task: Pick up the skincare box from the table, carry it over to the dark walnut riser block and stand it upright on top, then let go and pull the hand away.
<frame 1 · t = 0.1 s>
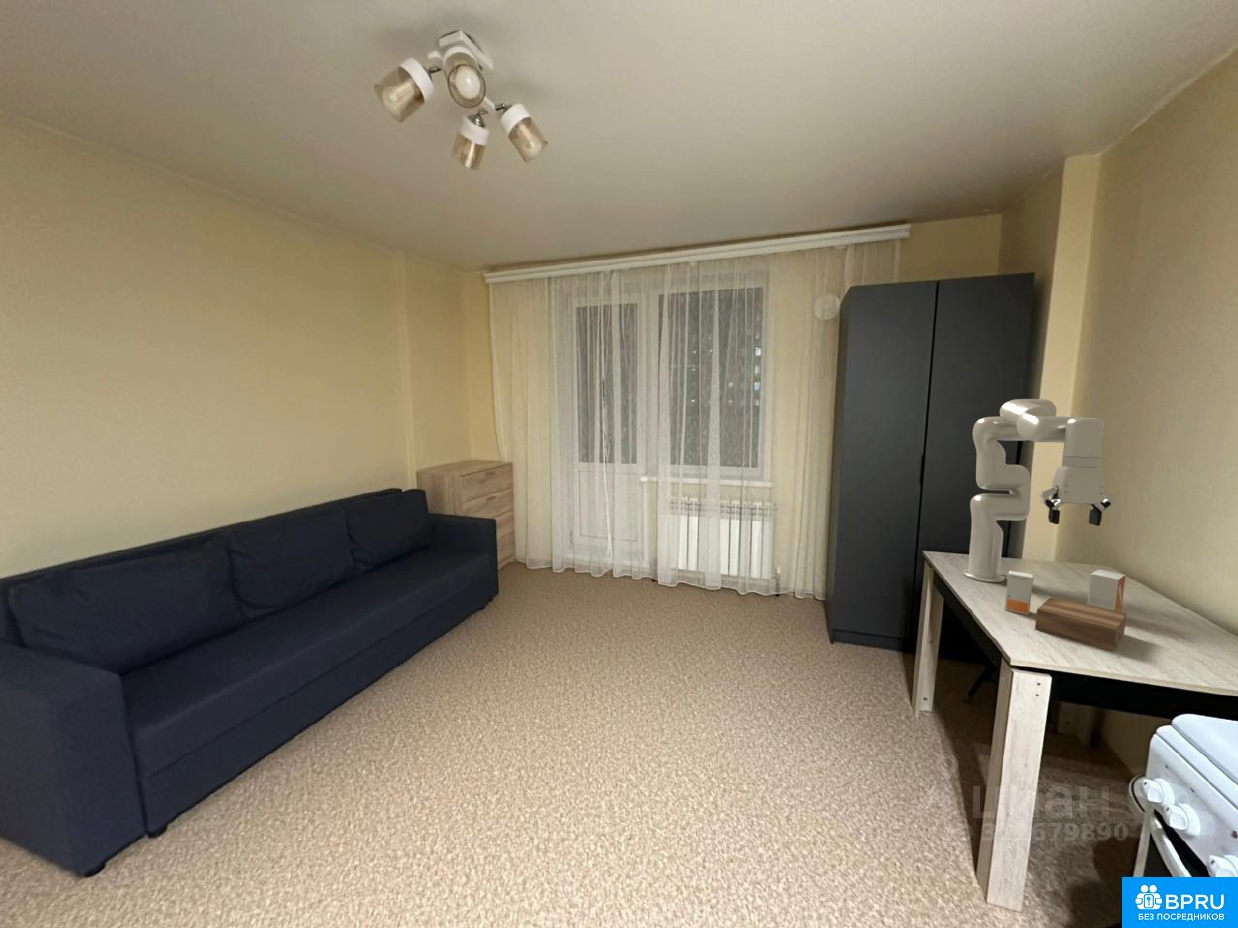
hand: (1073, 523, 136), 31 cm above the table, tool pointing down, fingers open, 9 cm apart
skincare box: (1017, 611, 152), on the table
small box: (1103, 615, 149), on the table
walnut riser: (1078, 631, 138), on the table
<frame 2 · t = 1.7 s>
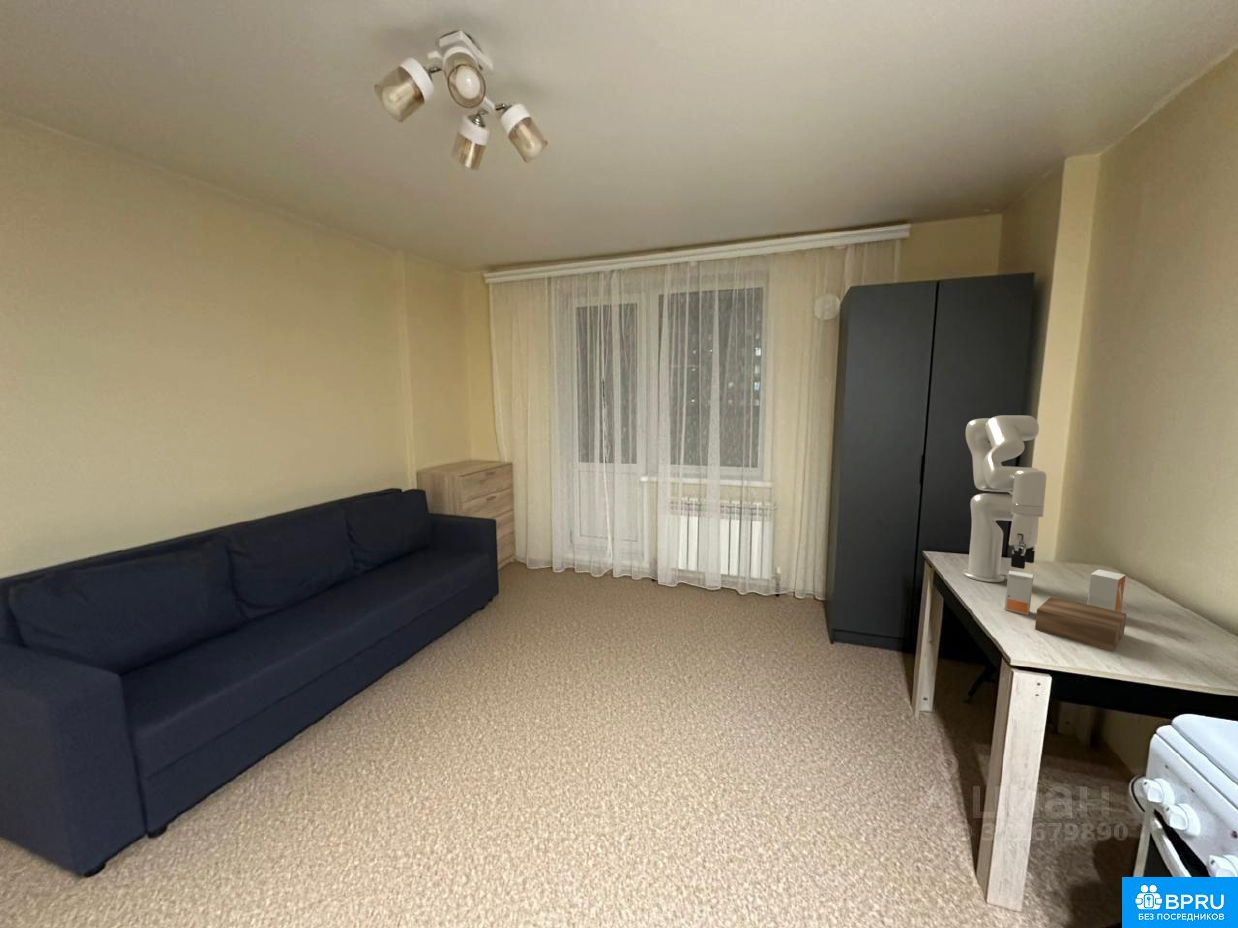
hand: (1022, 564, 150), 15 cm above the table, tool pointing down, fingers open, 9 cm apart
nothing on the table moved.
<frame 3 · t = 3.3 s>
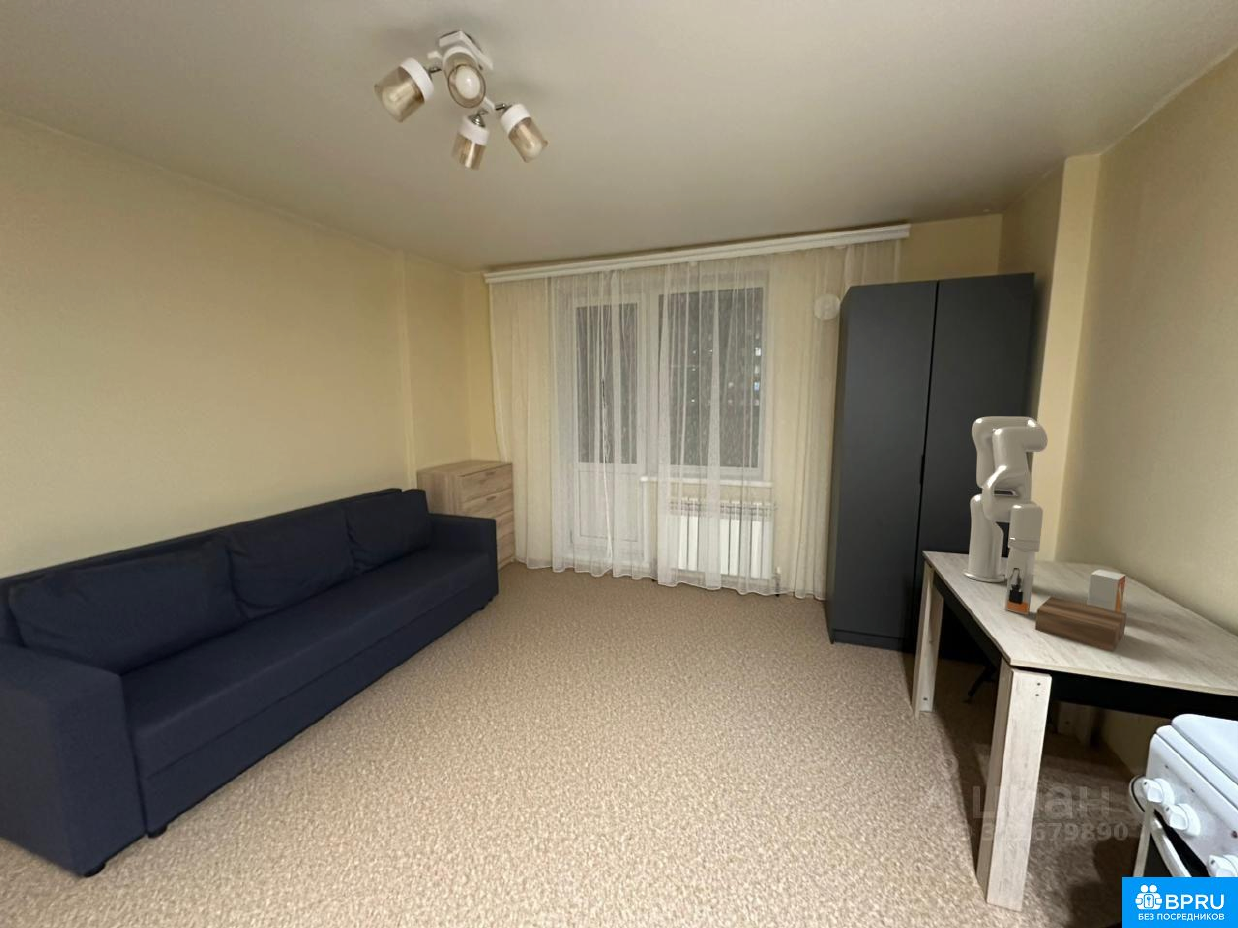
hand: (1018, 600, 152), 3 cm above the table, tool pointing down, fingers closed on skincare box, 4 cm apart
skincare box: (1017, 611, 152), on the table, touching gripper
everything else where it was.
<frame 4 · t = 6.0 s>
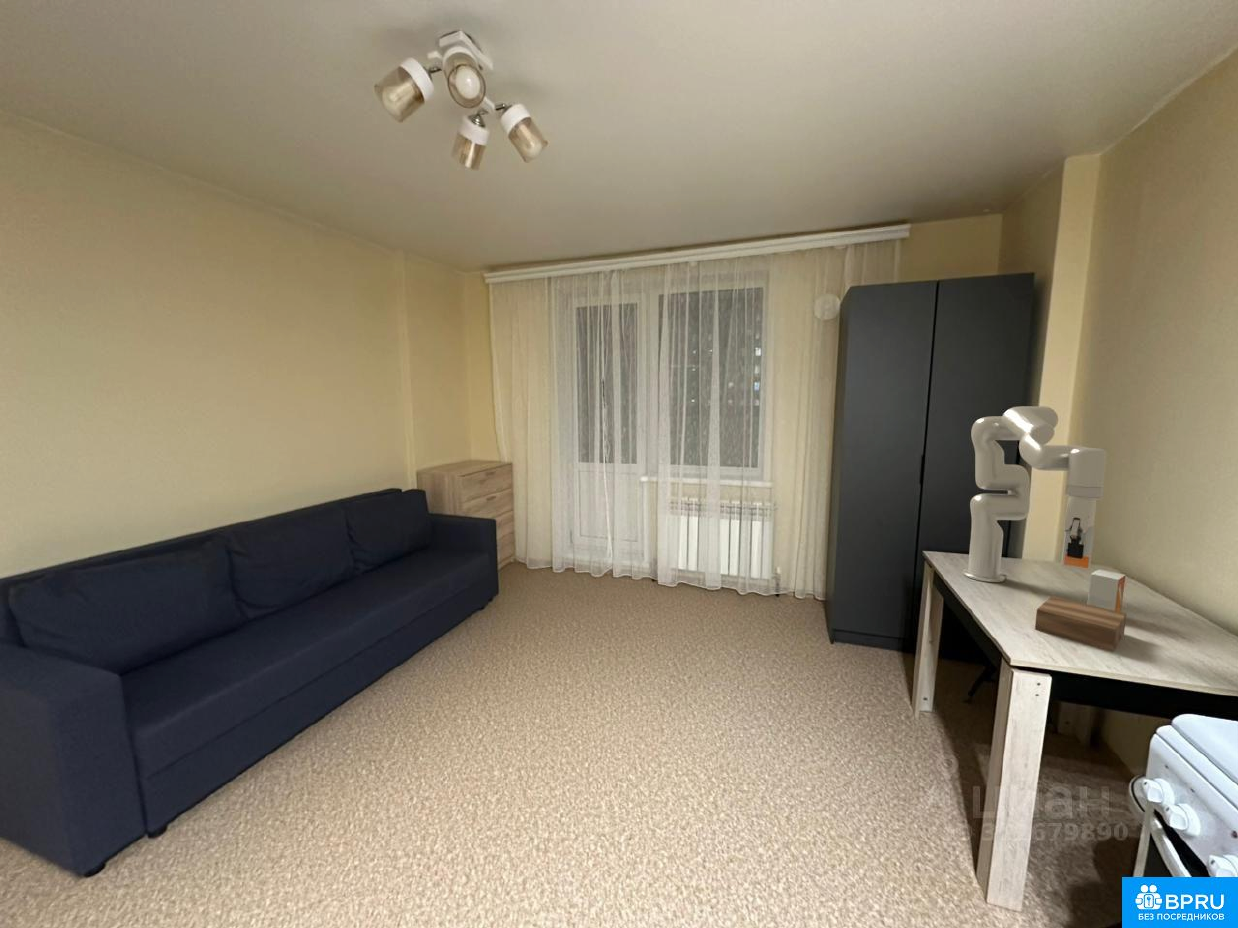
hand: (1077, 555, 138), 22 cm above the table, tool pointing down, fingers closed on skincare box, 4 cm apart
skincare box: (1075, 567, 138), point 18 cm above the table, touching gripper
everything else where it was.
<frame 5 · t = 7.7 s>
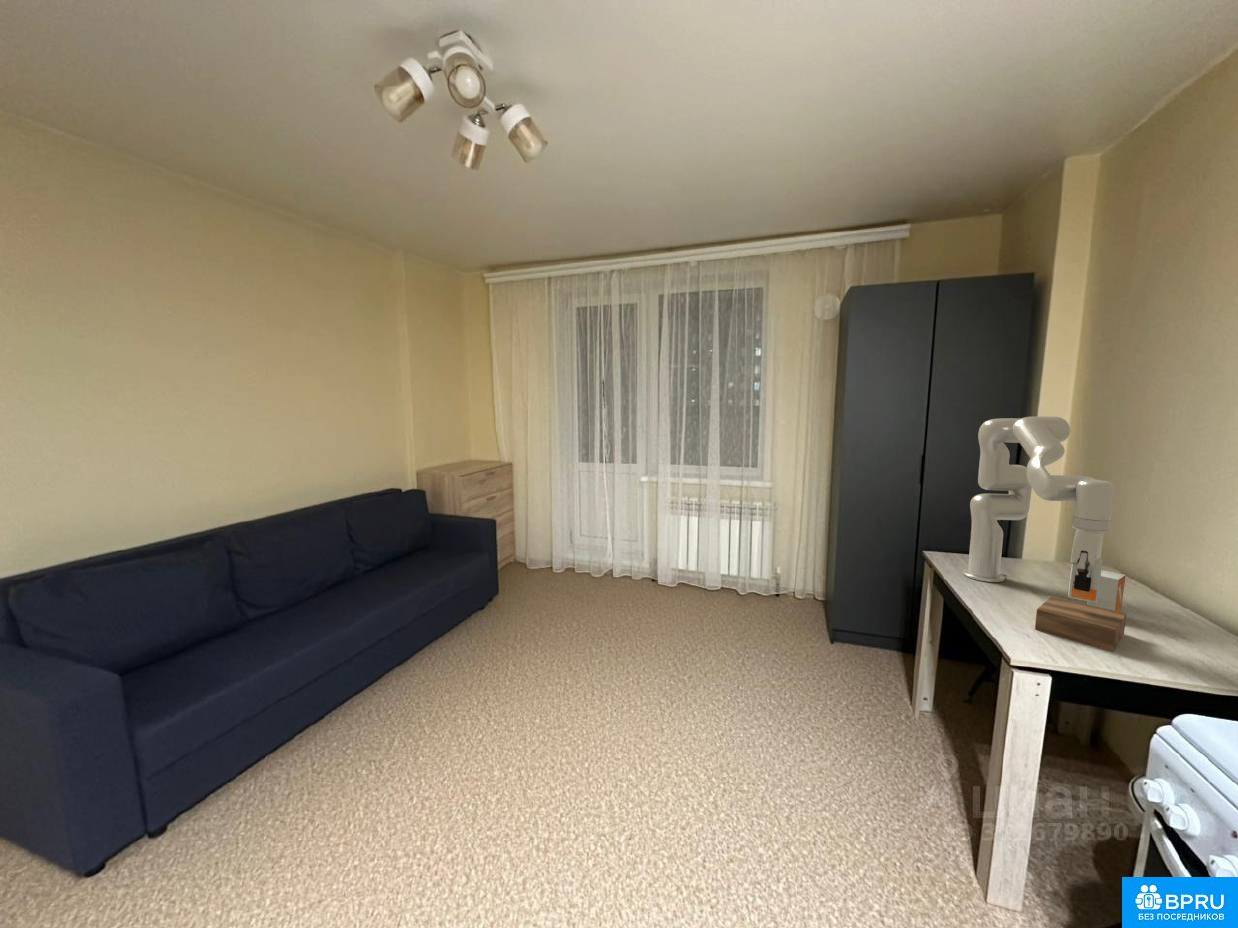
hand: (1084, 587, 137), 13 cm above the table, tool pointing down, fingers closed on skincare box, 4 cm apart
skincare box: (1082, 599, 137), point 10 cm above the table, touching gripper
everything else where it was.
when the fingers open (11 cm above the table, at t = 9.0 s): skincare box drops 1 cm, resting on walnut riser.
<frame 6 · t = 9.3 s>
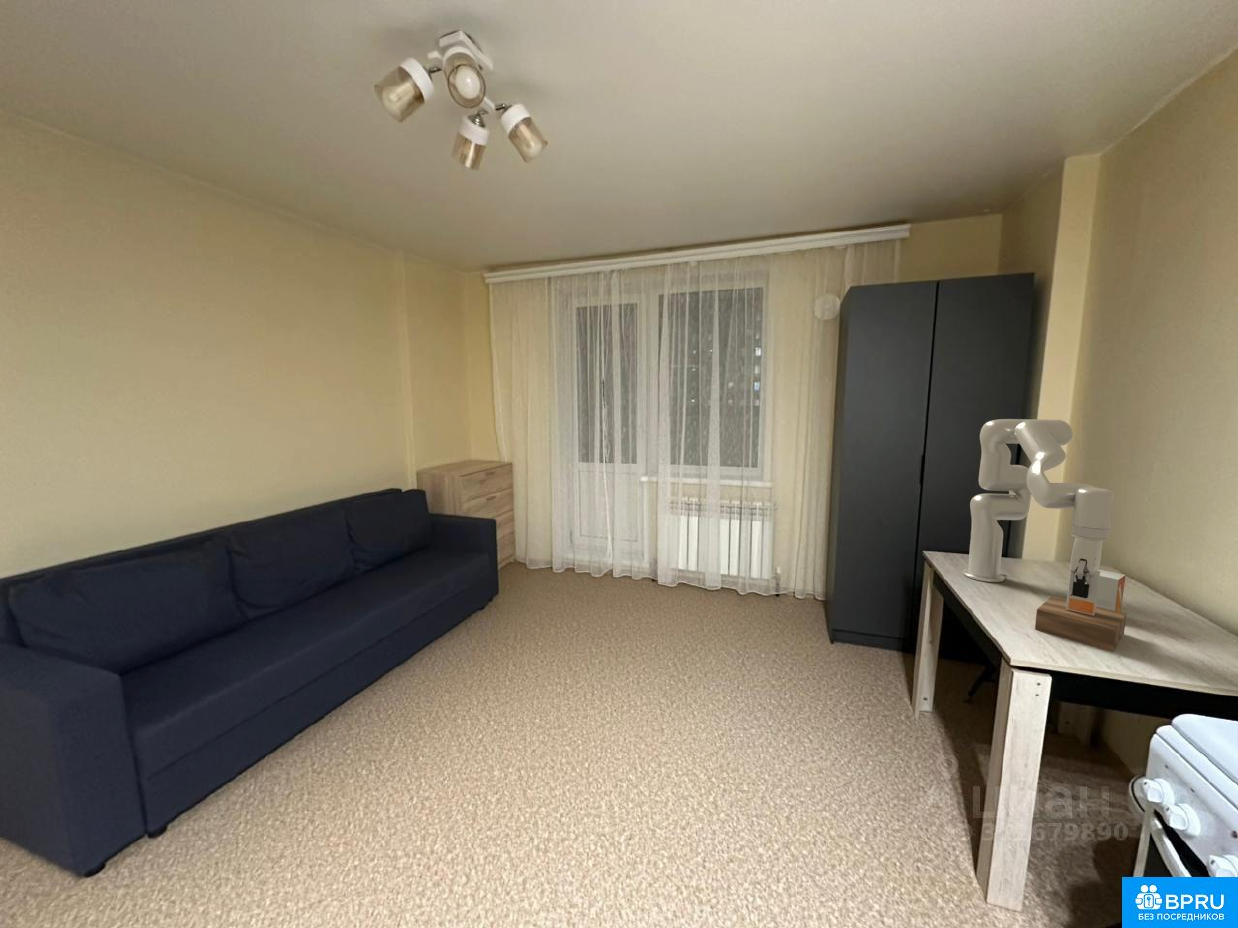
hand: (1083, 592, 137), 11 cm above the table, tool pointing down, fingers open, 8 cm apart
skincare box: (1080, 611, 138), point 6 cm above the table, touching walnut riser
everything else where it was.
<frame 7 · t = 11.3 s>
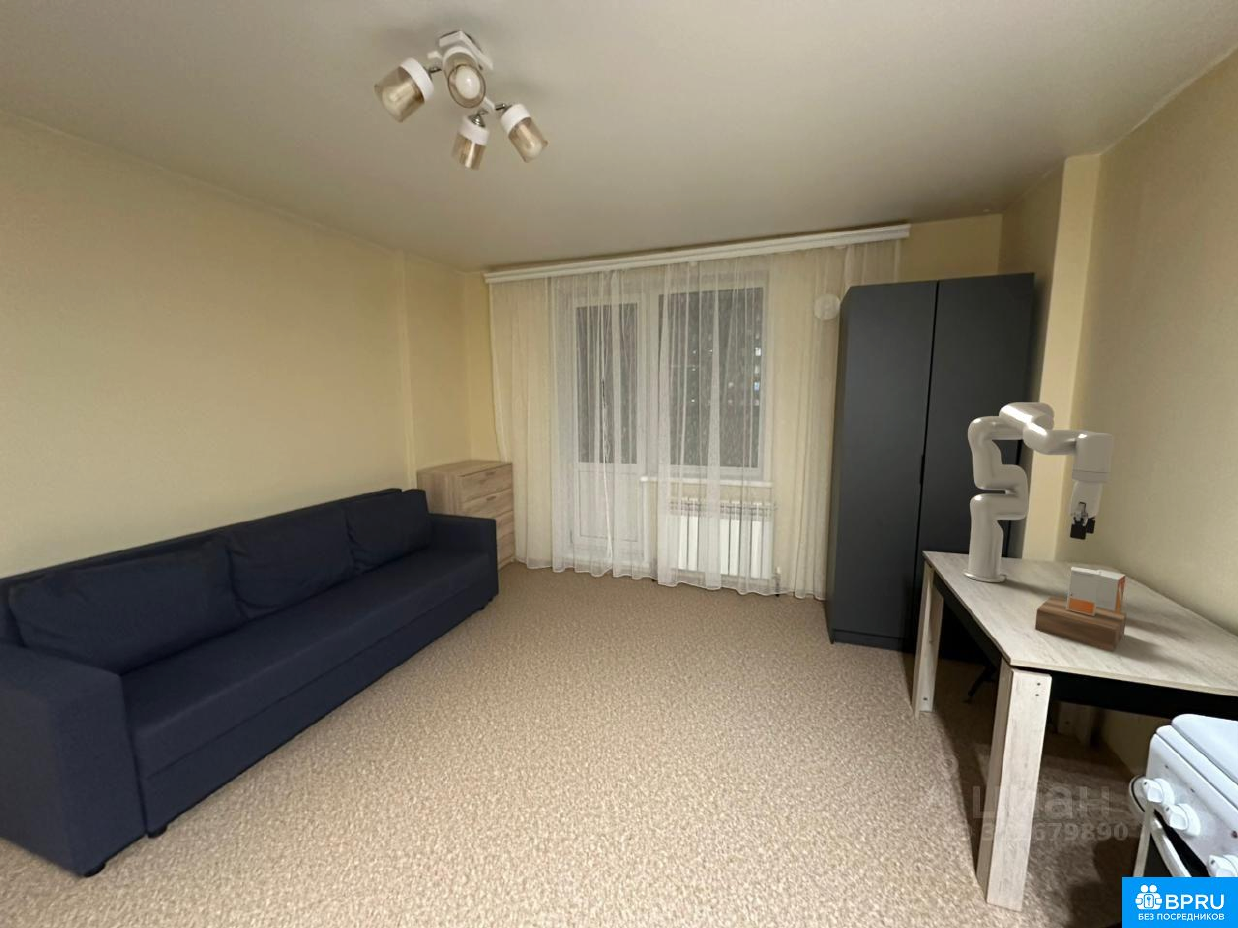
hand: (1081, 535, 139), 27 cm above the table, tool pointing down, fingers open, 9 cm apart
nothing on the table moved.
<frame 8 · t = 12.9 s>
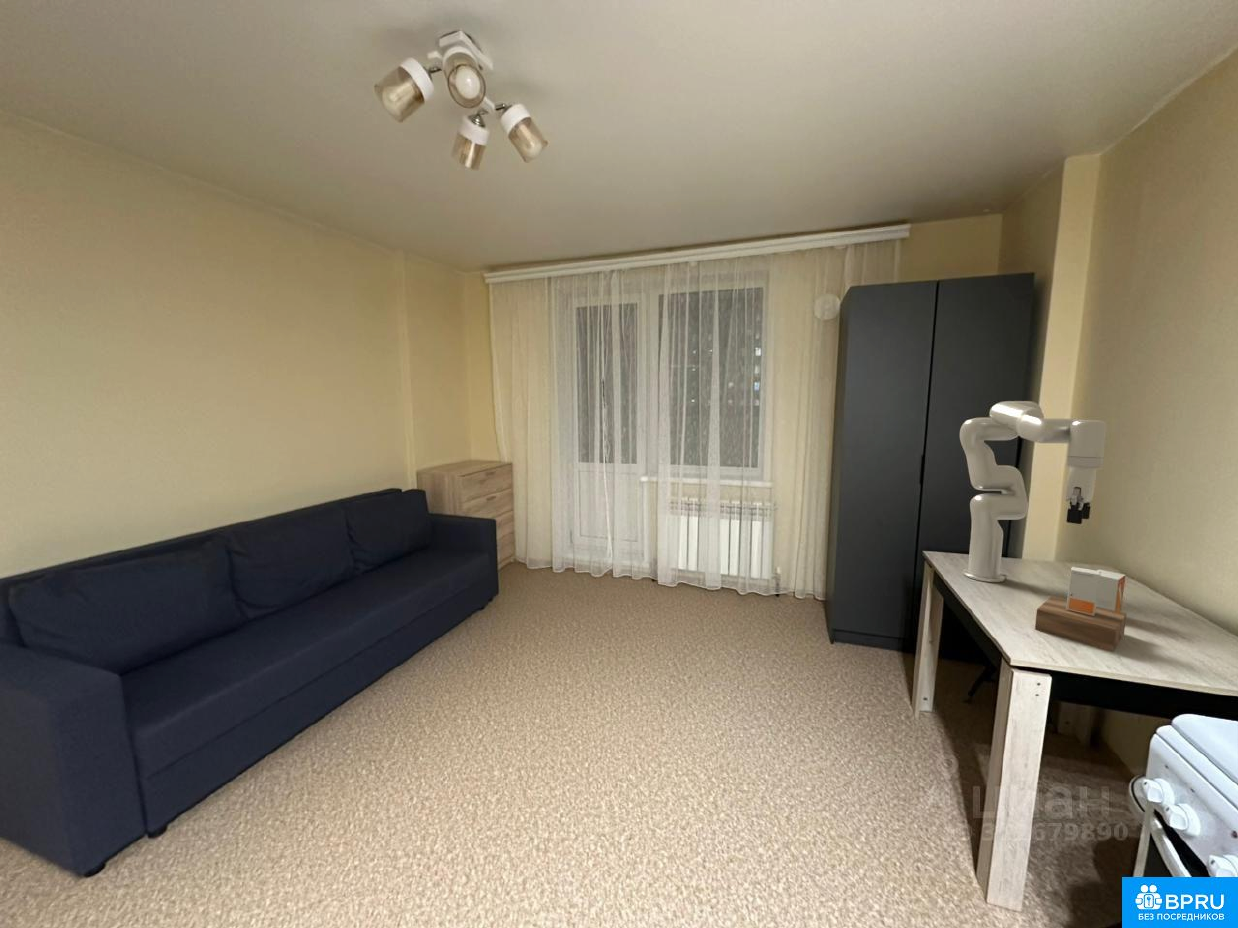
hand: (1077, 520, 143), 30 cm above the table, tool pointing down, fingers open, 9 cm apart
nothing on the table moved.
at the end: skincare box inside the target area on the walnut riser (0.1 cm from its centre), point 5.8 cm above the walnut riser's base; skincare box tilted 0°; the gripper is holding nothing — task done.
